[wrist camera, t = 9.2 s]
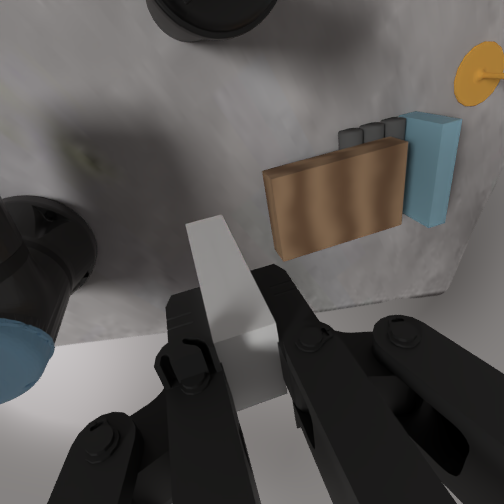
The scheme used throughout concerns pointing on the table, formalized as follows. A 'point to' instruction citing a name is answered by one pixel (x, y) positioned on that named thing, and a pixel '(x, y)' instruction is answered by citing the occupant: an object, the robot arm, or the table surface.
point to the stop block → (429, 165)
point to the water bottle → (208, 17)
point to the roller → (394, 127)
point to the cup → (479, 73)
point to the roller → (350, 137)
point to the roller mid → (372, 131)
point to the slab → (336, 196)
